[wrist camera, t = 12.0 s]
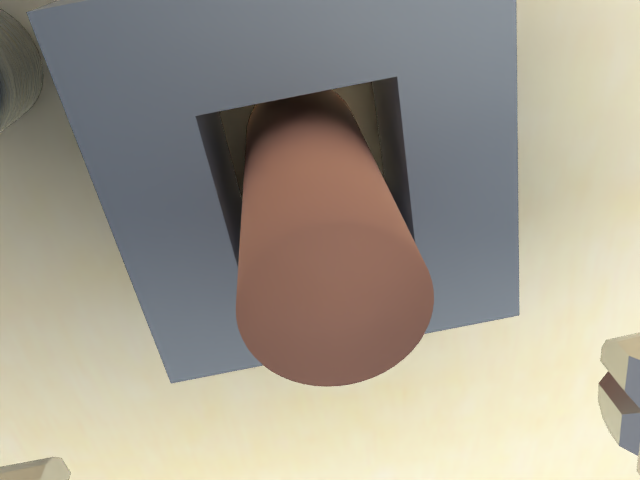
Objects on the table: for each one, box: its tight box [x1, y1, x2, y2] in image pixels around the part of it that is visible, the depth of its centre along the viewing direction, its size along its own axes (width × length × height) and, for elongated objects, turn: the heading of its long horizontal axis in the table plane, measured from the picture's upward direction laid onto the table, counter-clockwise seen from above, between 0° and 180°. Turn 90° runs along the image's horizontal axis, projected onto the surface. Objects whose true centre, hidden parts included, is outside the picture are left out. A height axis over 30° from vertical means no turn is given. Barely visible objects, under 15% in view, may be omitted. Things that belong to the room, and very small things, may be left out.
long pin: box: [236, 89, 434, 386], centre depth 17 cm, size 4×4×11 cm
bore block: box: [26, 0, 519, 383], centre depth 19 cm, size 12×12×5 cm
